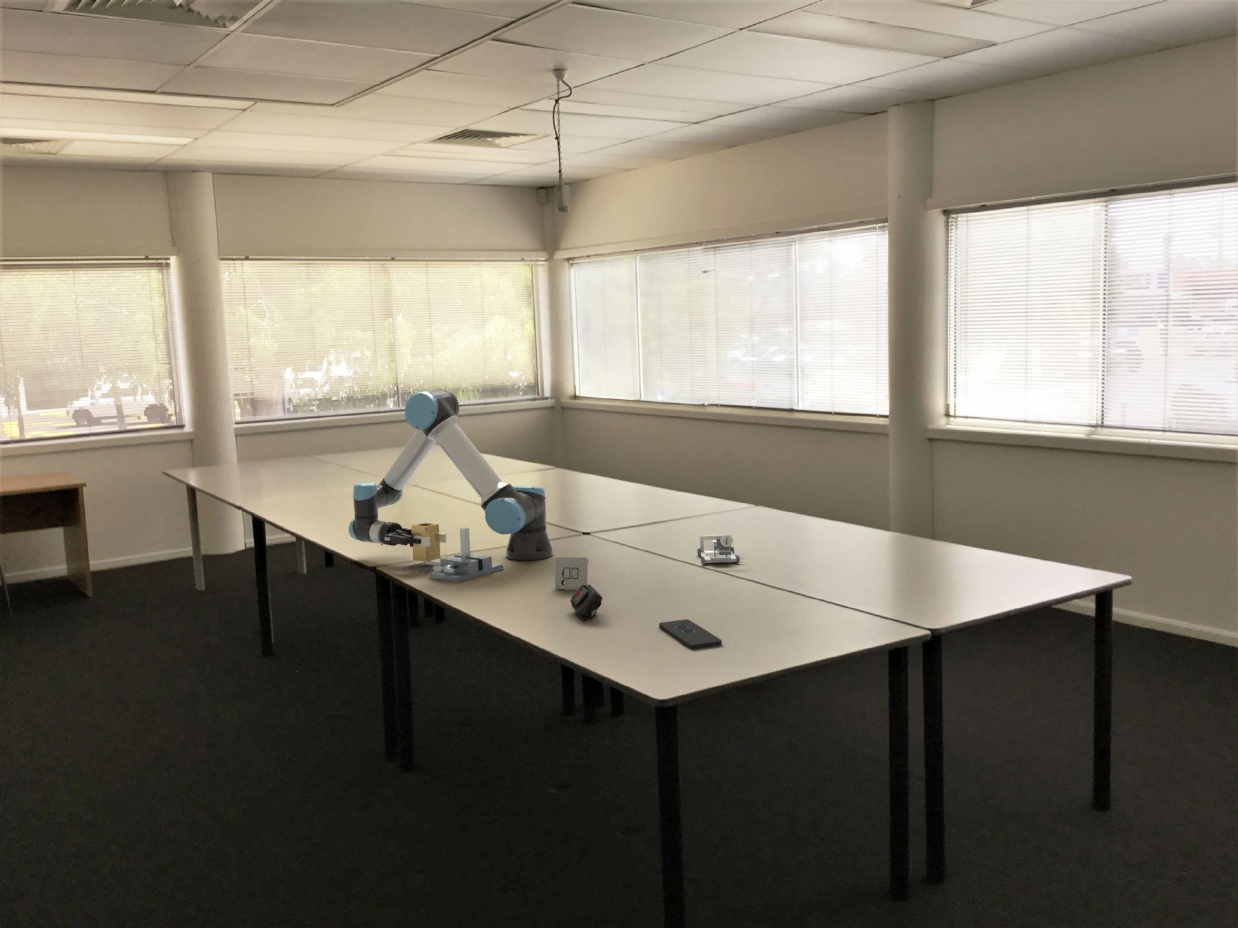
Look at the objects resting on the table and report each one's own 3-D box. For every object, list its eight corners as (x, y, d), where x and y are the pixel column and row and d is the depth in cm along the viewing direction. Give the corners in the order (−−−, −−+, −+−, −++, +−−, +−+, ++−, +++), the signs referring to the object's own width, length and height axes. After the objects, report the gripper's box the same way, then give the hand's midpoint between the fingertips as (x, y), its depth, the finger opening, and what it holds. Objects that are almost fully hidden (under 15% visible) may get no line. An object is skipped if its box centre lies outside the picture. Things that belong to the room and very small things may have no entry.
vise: (475, 564, 329) (473, 521, 328) (503, 569, 322) (501, 524, 321) (429, 578, 313) (426, 532, 312) (457, 582, 306) (455, 536, 305)
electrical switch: (554, 590, 294) (554, 557, 294) (559, 587, 299) (559, 555, 299) (586, 591, 292) (586, 558, 292) (590, 588, 298) (590, 556, 297)
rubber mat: (428, 562, 335) (428, 560, 335) (450, 565, 329) (450, 564, 329) (405, 568, 327) (404, 566, 327) (427, 572, 321) (427, 570, 321)
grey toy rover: (740, 536, 315) (702, 537, 315) (741, 567, 316) (703, 569, 316) (732, 525, 333) (696, 526, 333) (733, 555, 334) (697, 556, 334)
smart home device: (688, 618, 257) (723, 639, 239) (688, 624, 258) (723, 647, 239) (657, 622, 255) (690, 644, 236) (657, 629, 255) (690, 651, 236)
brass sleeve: (427, 556, 332) (425, 522, 330) (440, 558, 328) (438, 524, 327) (413, 559, 327) (411, 525, 326) (426, 561, 323) (424, 527, 322)
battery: (586, 614, 274) (565, 601, 272) (604, 589, 274) (583, 576, 271) (594, 631, 263) (572, 617, 261) (613, 605, 262) (591, 591, 260)
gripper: (409, 539, 345) (459, 546, 332) (364, 549, 330) (415, 557, 317) (408, 517, 344) (458, 523, 331) (363, 526, 329) (414, 533, 316)
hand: (437, 540), depth 324 cm, fingers closed on brass sleeve, 6 cm apart
